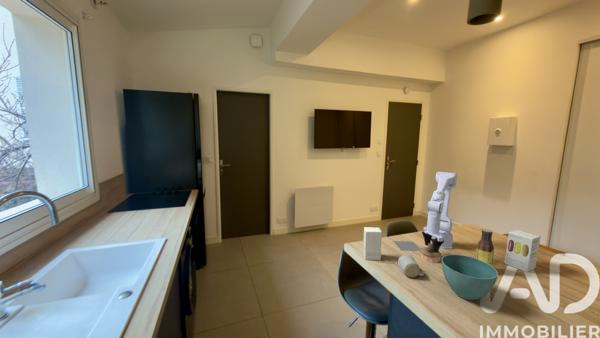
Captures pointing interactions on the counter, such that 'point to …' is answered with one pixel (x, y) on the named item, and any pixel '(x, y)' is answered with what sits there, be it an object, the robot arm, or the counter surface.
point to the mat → (407, 246)
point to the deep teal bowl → (468, 276)
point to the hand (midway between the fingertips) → (431, 248)
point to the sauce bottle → (486, 247)
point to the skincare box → (372, 243)
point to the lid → (430, 251)
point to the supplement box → (522, 250)
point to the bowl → (430, 258)
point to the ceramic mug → (409, 266)
